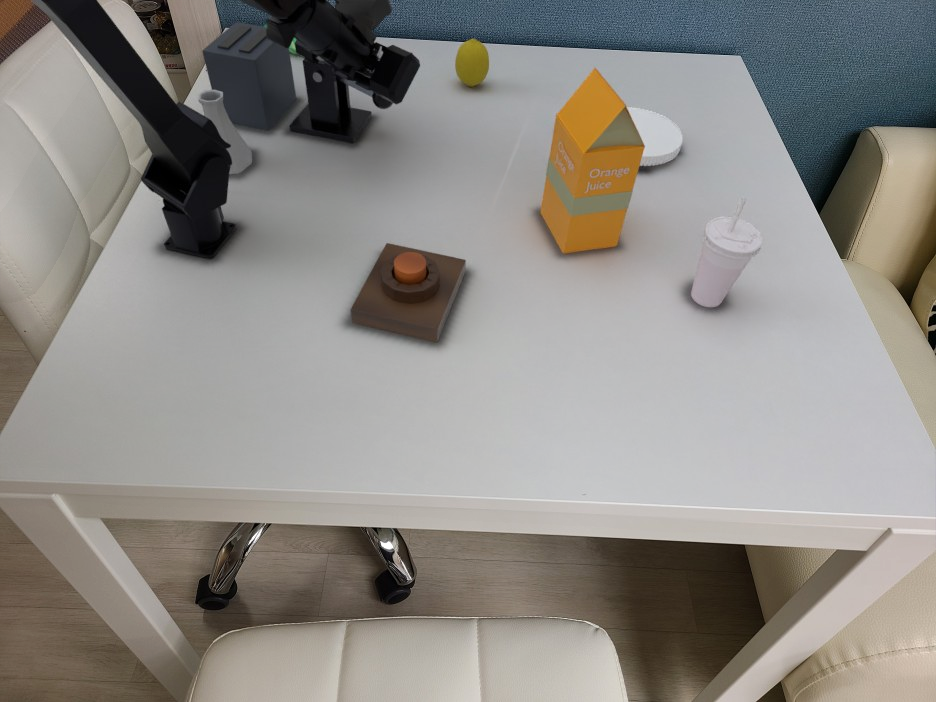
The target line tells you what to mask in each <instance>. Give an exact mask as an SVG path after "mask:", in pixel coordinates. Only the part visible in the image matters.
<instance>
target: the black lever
mask: <svg viewBox="0 0 936 702" xmlns="http://www.w3.org/2000/svg"><path fill="white" fill-rule="evenodd" d="M317 59H318V60H321V61H324V60H323V59H322V58H321V57H319V56H318V57H317ZM336 79H337V80H339V81H341V82H343V83H345V84H347V85H348V86H349V87H351V88H353V89H355V90H357V91H359V92H361V93H363V94H365V95H366V96H368V97H371V99H372V100H371V101H372V102H373V104H374V106H375V107H376V108H378V109H381V110H387V109H390V108H391V107H392V106H393V104H394V103H392V102H390V101H388V100H386V99H384V98H382V97H380V96H379V95H377V94H376V93H374V92H373V91H372V90H371V91H369V90H366V89H364V88H362V87H360V86H358V85H356V84H355V82H356V81H350V80H346V79H344V78H342V77H340V76H338V75H336Z"/></svg>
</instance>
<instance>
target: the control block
mask: <svg viewBox="0 0 936 702" xmlns="http://www.w3.org/2000/svg"><path fill="white" fill-rule="evenodd" d="M406 252H414V253H418V254H420V255H422V256H423V257H424V258H425V260H426V277H425V279H424V280H423V281H422V282H420V283H418V284H412V285H407V284H402V283H400V282H399V281H398V280H397V279H396V278H395V275H394V260H395V258H396V257H397V256H398V255H400V254H402V253H406ZM466 263H467V260H466V259H464V258H459V257H454V256H449V255H445V254H440V253H436V252H431V251H427V250H422V249H417V248H412V247H407V246H404V245H398V244H394V243H390V242H386V244H385V245H384V247H383V248H382V251H381V253H380V254H379V256H378V258H377V260H376V262H375V264H374V266H373V267H372V269H371V271H370V272H369V275H368V276H367V279H366V280H365V282H364V284H363V285H362V288H361V289H360V291H359V293H358V294H357V297H356V299H355V300H354V302H353V304H352V306H351V308H350V317H351V323H352V324H355V325H360V326H364V327H369V328H372V329H377V330H381V331H385V332H390V333H395V334H397V335H398V334H399V335H402V336H407V337H412V338H416V339H420V340H424V341H428V342H433V343H438V342H439V339H440V336H441V334H442V332H443V329H444V327H445V325H446V322H447V319H448V316H449V314H450V311H451V309H452V306H453V304H454V302H455V299H456V297H457V294H458V291H459V289H460V286H461V285H462V283H463V279H464V277H465V274H466Z"/></svg>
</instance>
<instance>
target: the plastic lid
mask: <svg viewBox="0 0 936 702" xmlns="http://www.w3.org/2000/svg"><path fill="white" fill-rule="evenodd" d="M626 107H627V109H628V111H629V113H630V115H631V117H632V120H633V122H634V124H635V126H636V128H637V130H638V132H639V135H640V137H641V139H642V141H643V143H644V145H645V148H644V151H643V155H642V158H641V162H640V166H639V167H642V166H643V167H647V166H648V167H651V166H658V165H662V164H663V165H664V164H665V163H668V162H671V161H672V160H674V159H675V158H676V157H677V156H678V155H679V153H680V151H681V148H682V144H683V142H684V135H683V133H682V132H683V131H682V130H681V129H680V127H679V126H678V125H677V124H676V123H675V122H674V121H673V120H671V118H668V116H667V117H666V116H665V115H662V114H661V113H658V112H655V111H652V110H650V109H648V110H647V109H646V108H641V107H640V108H639V107H634V106H632V107H631V106H626Z"/></svg>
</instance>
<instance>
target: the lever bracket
mask: <svg viewBox="0 0 936 702" xmlns="http://www.w3.org/2000/svg"><path fill="white" fill-rule="evenodd" d="M317 57H318V56H317V55H316V56H315V58H317ZM302 66H303V72H304V73H303V74H304V82H305V88H306V89H305V90H306V95H307V96H306V98H307V104H306V105H305V107H304V108H303V109H302V110H301V111H300V112H299V114H298V115H297V116H296V117H295V118H294V119H293V121H292V122H291V123H290V124H289V131H290V132H292V133H297V134H301V135H307V136H313V137H318V138H322V139H328V140H332V141H333V140H334V141H338V142H343V143H348V144H354V143H355V142H356V140H357V139H358V137H359V136H360V135H361V133H362V132H363V130H364V129H365V128H366V126H367V125H368V123H369V122H370V121H371V120H372V118H373V116H372V115H373V114H372V111H371V110H366V109H362V108H361V109H360V108H355V107H351V99H350V89H349V88H350V86H349V85H347V84H345V83H343V82H341V81H339V80H337V79H336V74H335V73H334V69H333V68H331V67H329V66H327V65H326V64H324V63H323V61H321V60H319V62H318V64H317V65H316V64H314V63H312V62H310V61H308V60H306V59H304V58H303V60H302Z"/></svg>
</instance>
